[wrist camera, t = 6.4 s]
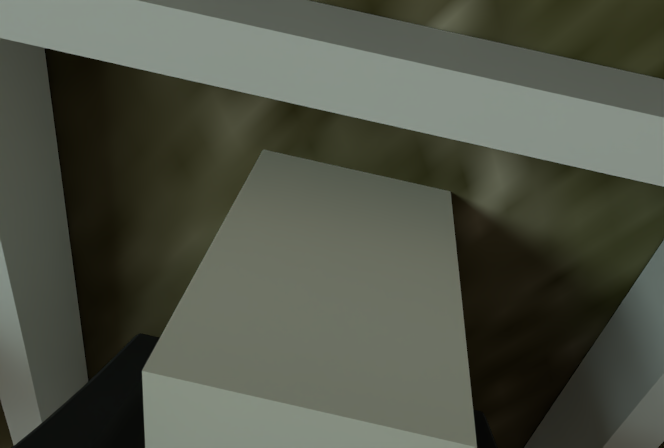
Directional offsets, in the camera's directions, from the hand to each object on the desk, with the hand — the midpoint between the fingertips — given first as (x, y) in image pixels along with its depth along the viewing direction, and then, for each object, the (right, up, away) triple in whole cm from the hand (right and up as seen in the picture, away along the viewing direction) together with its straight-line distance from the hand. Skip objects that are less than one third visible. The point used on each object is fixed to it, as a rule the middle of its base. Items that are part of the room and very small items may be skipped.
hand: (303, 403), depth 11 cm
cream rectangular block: (0, +2, +3) cm, 3 cm away
